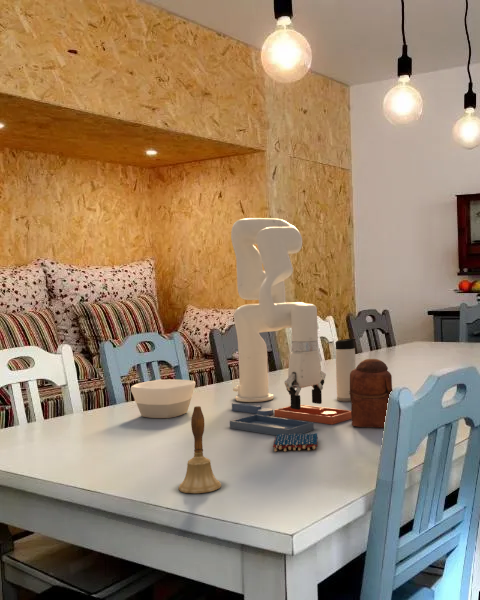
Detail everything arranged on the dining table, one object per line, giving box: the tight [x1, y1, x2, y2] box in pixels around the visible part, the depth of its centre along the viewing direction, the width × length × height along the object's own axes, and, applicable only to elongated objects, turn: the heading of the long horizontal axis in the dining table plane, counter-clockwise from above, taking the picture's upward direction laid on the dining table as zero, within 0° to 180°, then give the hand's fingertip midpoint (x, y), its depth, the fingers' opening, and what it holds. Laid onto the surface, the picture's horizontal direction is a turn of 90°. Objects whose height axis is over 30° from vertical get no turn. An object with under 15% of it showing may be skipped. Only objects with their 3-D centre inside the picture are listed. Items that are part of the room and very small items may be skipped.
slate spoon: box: [231, 402, 274, 416], centre depth 217 cm, size 16×5×2 cm, turn 50°
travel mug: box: [335, 337, 357, 403], centre depth 232 cm, size 6×7×20 cm
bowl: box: [130, 379, 196, 419], centre depth 219 cm, size 18×18×9 cm
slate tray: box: [229, 413, 315, 437], centre depth 193 cm, size 21×10×2 cm, turn 50°
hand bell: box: [178, 405, 222, 494], centre depth 142 cm, size 8×8×16 cm
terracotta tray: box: [273, 404, 352, 425], centre depth 207 cm, size 21×10×2 cm, turn 50°
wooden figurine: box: [350, 358, 393, 429], centre depth 192 cm, size 12×6×18 cm, turn 75°
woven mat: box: [272, 432, 319, 452], centre depth 173 cm, size 10×11×2 cm
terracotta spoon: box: [291, 406, 337, 417], centre depth 207 cm, size 16×5×2 cm, turn 50°
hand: (306, 406), depth 209 cm, fingers open, 9 cm apart
